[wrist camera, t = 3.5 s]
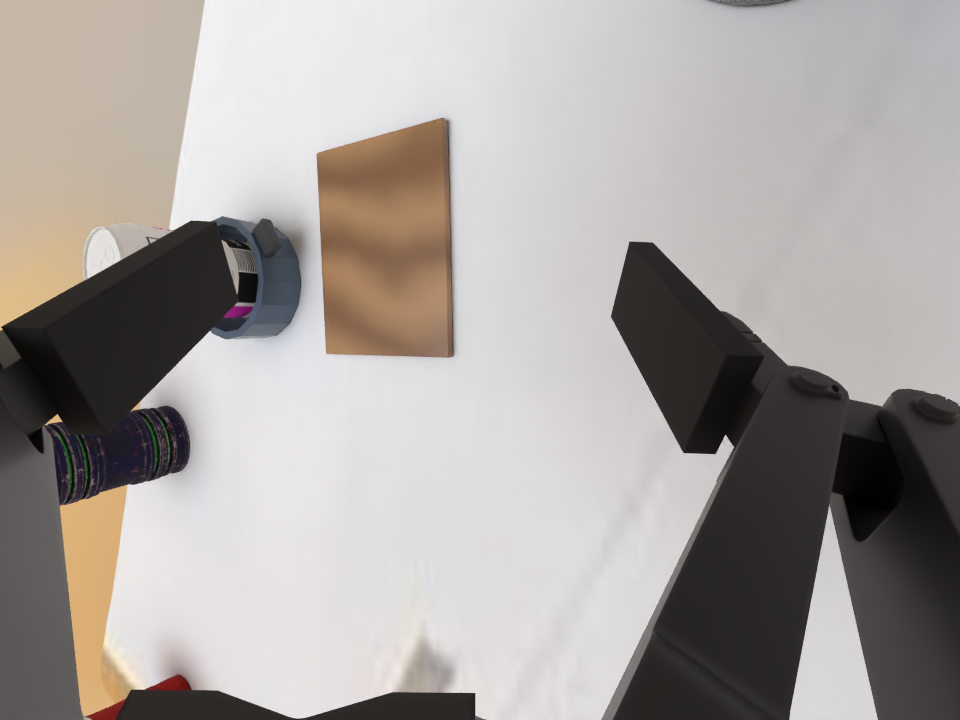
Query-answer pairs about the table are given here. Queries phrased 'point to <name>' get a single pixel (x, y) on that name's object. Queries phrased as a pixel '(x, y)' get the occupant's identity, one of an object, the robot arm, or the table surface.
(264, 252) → the pot
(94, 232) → the supplement can
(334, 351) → the wooden board
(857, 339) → the table surface
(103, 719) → the plastic cup
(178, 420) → the storage jar
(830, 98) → the table surface
